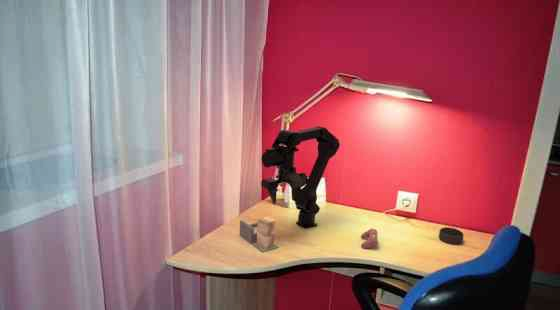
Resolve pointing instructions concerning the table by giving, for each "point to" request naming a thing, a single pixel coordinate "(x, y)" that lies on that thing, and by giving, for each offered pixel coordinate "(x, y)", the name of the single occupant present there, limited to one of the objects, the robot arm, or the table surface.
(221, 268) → the table surface
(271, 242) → the birch block
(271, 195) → the robot arm
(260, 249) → the mat
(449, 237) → the smart speaker
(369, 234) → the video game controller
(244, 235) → the tray
